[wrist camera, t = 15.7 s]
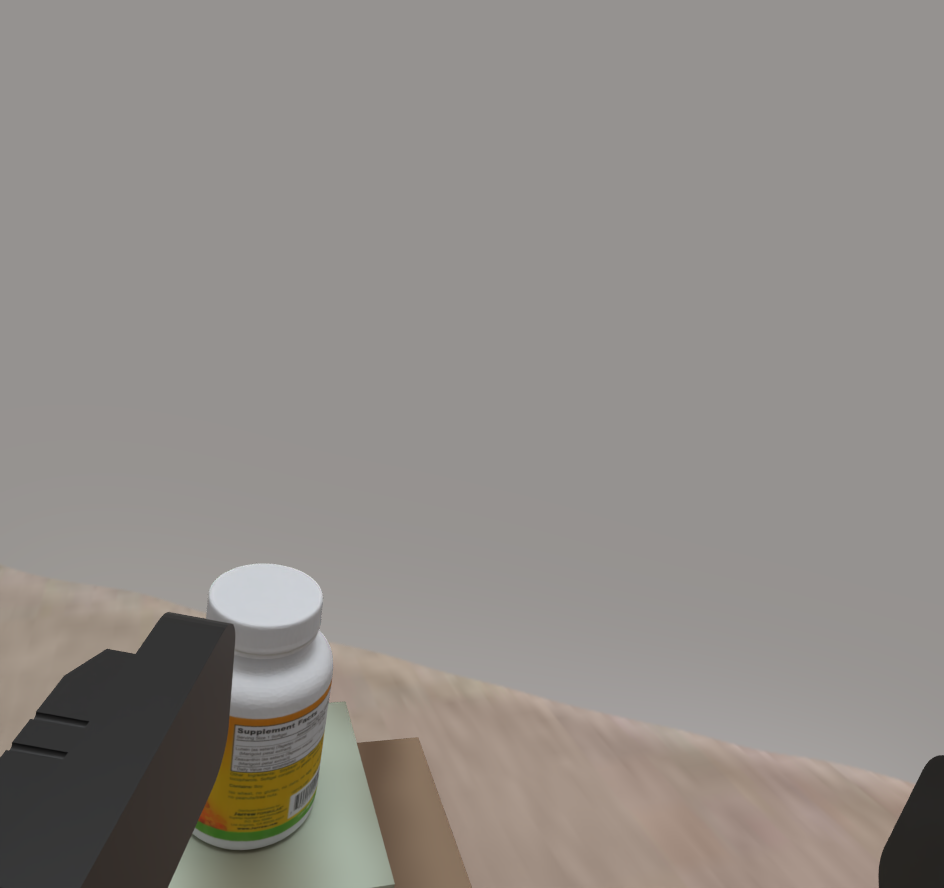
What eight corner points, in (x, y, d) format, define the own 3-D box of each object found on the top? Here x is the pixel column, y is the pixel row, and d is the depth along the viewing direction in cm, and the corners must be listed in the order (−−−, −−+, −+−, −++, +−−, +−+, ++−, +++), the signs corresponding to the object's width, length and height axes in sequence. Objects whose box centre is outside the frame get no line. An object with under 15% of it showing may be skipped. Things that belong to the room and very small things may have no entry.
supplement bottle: (168, 759, 35) (178, 556, 32) (299, 741, 38) (323, 548, 34) (181, 868, 31) (195, 646, 27) (328, 839, 33) (360, 631, 29)
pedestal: (414, 754, 47) (432, 661, 44) (511, 1032, 34) (542, 922, 32) (-3, 796, 40) (-9, 688, 37) (-82, 1166, 27) (-97, 1037, 24)
